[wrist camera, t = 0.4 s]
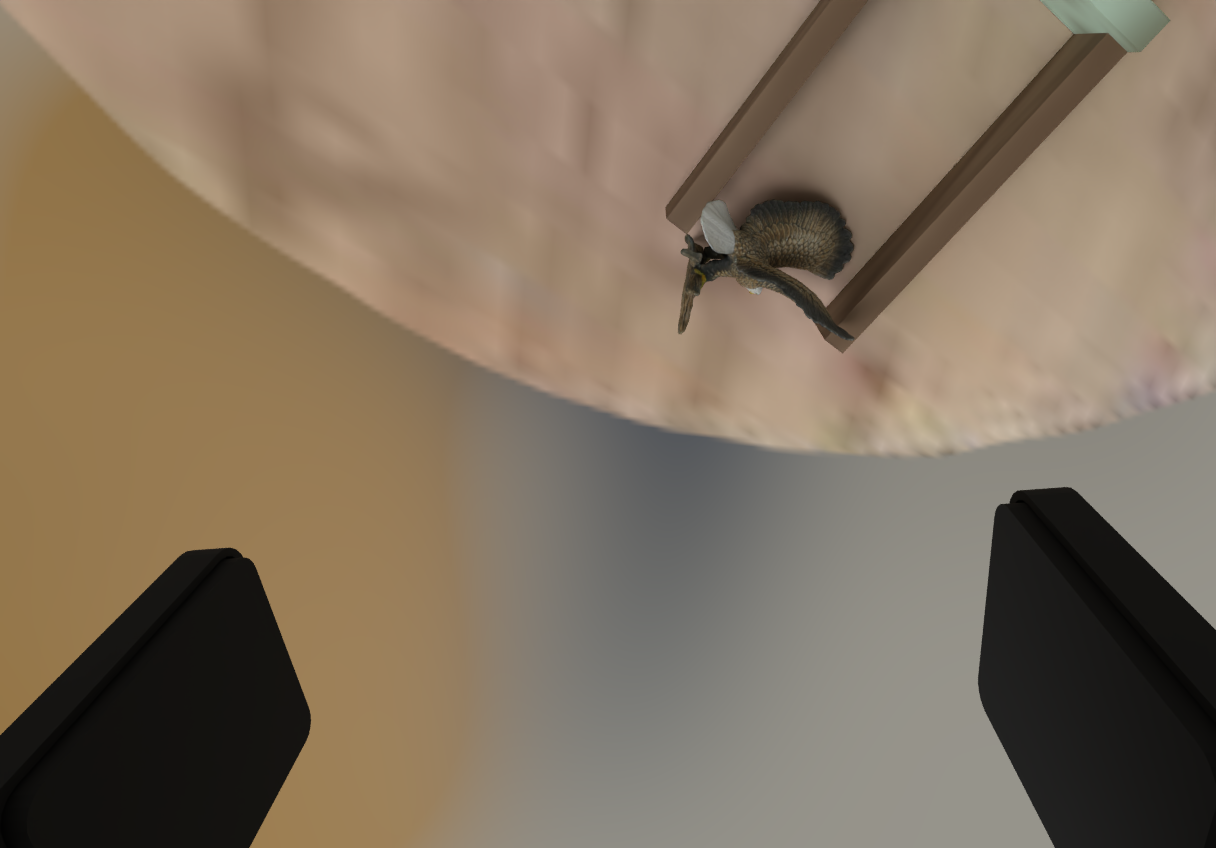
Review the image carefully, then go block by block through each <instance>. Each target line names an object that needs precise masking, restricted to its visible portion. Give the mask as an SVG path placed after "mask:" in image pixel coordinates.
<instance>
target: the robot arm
mask: <svg viewBox="0 0 1216 848" xmlns="http://www.w3.org/2000/svg"><path fill="white" fill-rule="evenodd" d="M978 686H979V693H980V698H981V701H982V704H983V707H984V709H985V712H986V714H987V716H988V718H989V720H990V722H991V724H992V726H993V728H994V730H995V732H996V734H997V736H998V737H999V739H1000V741H1001V743H1002V745H1003V747H1004V749H1005V751H1006V753H1007V755H1008V757H1009V759H1010V760H1011V763H1012V765H1013V767H1014V769H1015V771H1016V772H1017V775H1018V777H1019V778H1020V780H1021V782H1022V784H1023V786H1024V788H1025V790H1026V792H1027V794H1028V796H1029V798H1030V800H1031V802H1032V804H1033V806H1034V808H1035V810H1036V812H1037V814H1038V816H1039V817H1040V819H1041V821H1042V823H1043V825H1044V827H1045V829H1046V831H1047V833H1048V835H1049V837H1050V839H1051V841H1052V843H1053V845H1054V847H1055V848H1216V630H1215V629H1214V628H1213V627H1212V626H1211V625H1210V624H1209V623H1208V622H1207V621H1206V620H1205V619H1204V618H1203V617H1202V616H1201V615H1200V614H1199V613H1198V612H1197V611H1196V610H1195V609H1194V608H1193V607H1192V606H1191V605H1190V604H1189V603H1188V602H1187V601H1186V600H1185V599H1184V598H1183V597H1182V596H1181V595H1180V594H1179V593H1178V592H1177V591H1176V590H1175V589H1174V588H1173V587H1172V586H1171V585H1170V584H1169V583H1168V582H1167V581H1166V580H1165V579H1164V578H1163V577H1162V576H1161V575H1160V574H1159V573H1158V572H1157V571H1156V570H1155V569H1154V568H1153V567H1152V566H1151V565H1150V564H1149V563H1148V562H1147V561H1146V560H1145V559H1144V558H1143V557H1142V556H1141V555H1140V554H1139V553H1138V552H1137V551H1136V550H1135V549H1134V548H1133V547H1132V546H1131V545H1130V544H1129V543H1128V542H1127V541H1126V540H1125V539H1124V538H1123V537H1122V536H1121V535H1120V534H1119V533H1118V532H1117V531H1116V530H1115V529H1114V528H1113V527H1112V526H1111V525H1110V524H1109V523H1108V522H1107V521H1106V520H1105V519H1104V518H1103V517H1101V516H1100V514H1099V513H1098V512H1097V511H1095V509H1093V507H1092V506H1091V505H1090V504H1089V503H1088V502H1086V501H1085V499H1084V498H1083V497H1082V496H1081V495H1080V494H1078V492H1076V491H1075V490H1073V489H1072V488H1068V487H1062V488H1048V489H1035V490H1020V491H1016V492H1015V493H1014V494H1013V495H1012V497H1011V499H1010V504H1000V505H999V506H998V507H997V509H996V512H995V517H994V527H993V537H992V547H991V557H990V566H989V577H988V586H987V597H986V606H985V615H984V625H983V635H982V645H981V655H980V666H979V675H978ZM310 724H311V715H310V710H309V707H308V704H307V702H306V699H305V696H304V694H303V691H302V689H301V686H300V683H299V680H298V678H297V675H296V673H295V670H294V667H293V665H292V662H291V659H290V657H289V654H288V651H287V649H286V646H285V644H284V641H283V638H282V636H281V633H280V630H279V628H278V625H277V622H276V620H275V617H274V614H273V612H272V609H271V607H270V604H269V601H268V599H267V596H266V594H265V591H264V588H263V585H262V583H261V580H260V577H259V575H258V572H257V570H256V567H255V565H254V563H253V562H252V561H251V560H250V559H248V558H243V556H242V555H241V553H239V552H238V551H237V550H236V549H233V548H219V549H205V550H193V551H187V552H185V553H183V554H182V555H181V556H179V557H178V558H177V559H176V560H175V561H174V562H173V564H171V565H170V566H169V567H168V568H167V569H166V570H165V571H164V572H163V573H162V575H160V576H159V577H158V578H157V579H156V580H155V581H154V582H153V583H152V584H151V585H150V586H149V587H148V588H147V589H146V590H145V591H144V592H143V593H142V594H141V595H140V596H139V598H137V599H136V600H135V601H134V602H133V603H132V604H131V605H130V606H129V607H128V608H127V609H126V610H125V611H124V612H123V613H122V614H121V615H120V616H119V617H118V618H117V619H116V620H115V621H114V622H113V623H112V624H111V625H110V626H109V627H108V628H107V629H106V630H105V631H104V632H103V633H102V634H101V635H100V636H99V637H98V638H97V639H96V640H95V641H94V642H93V643H92V644H91V645H90V646H89V647H88V648H87V649H86V650H85V651H84V652H83V653H82V654H81V655H80V656H79V657H78V658H77V659H76V660H75V661H74V663H72V664H71V665H70V666H69V667H68V668H67V669H66V670H65V671H64V672H63V673H62V674H61V675H60V677H58V678H57V679H56V680H55V681H54V682H53V683H52V684H51V685H50V686H49V687H48V688H47V689H46V690H45V691H44V692H43V693H42V694H41V695H40V696H39V697H38V698H37V699H36V700H35V701H34V702H33V703H32V704H31V705H30V706H29V707H28V708H27V709H26V710H25V711H24V712H23V713H22V714H21V715H20V716H19V717H18V718H17V719H16V720H15V721H14V722H13V723H12V724H11V725H10V726H9V727H8V728H7V729H6V730H5V731H4V732H3V733H2V734H1V735H0V848H249V847H250V845H251V844H252V842H253V840H254V838H255V836H256V834H257V832H258V830H259V829H260V826H261V825H262V823H263V821H264V819H265V817H266V815H267V813H268V811H269V809H270V808H271V806H272V804H273V802H274V800H275V798H276V796H277V795H278V792H279V791H280V789H281V787H282V785H283V783H284V782H285V780H286V778H287V776H288V774H289V772H290V770H291V768H292V766H293V765H294V763H295V761H296V759H297V757H298V755H299V753H300V752H301V750H302V748H303V746H304V744H305V742H306V740H307V738H308V735H309V731H310Z"/></svg>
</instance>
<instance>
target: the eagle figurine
mask: <svg viewBox="0 0 1216 848" xmlns="http://www.w3.org/2000/svg"><path fill="white" fill-rule="evenodd" d="M845 224H846V223H845V220H843V219H841V218H840V213H839V211H837V210H836V209H835V208H833V207H829V205H828V204H827V203H821V202H820V201H815V202H814V203H813V202H810V201H803V202H801V203H799V202H797V201H796V202H791V201H787V202H785V203H784V202H783V201H781V200H778V201H777V200H771V201H766V202H764V203H763V204H757V205H755V208H753V209H751V215H750V216H748V217H747V218H746V223H744V224H742V225H741V227H740V229H739V230H738V229H737V228H736V226H735V225H734V223H733V220H732V218H731V217H730V214H729V211H728V208H727V206H726V204H725V202H723V201H721V200H716V201H712V202H707V204H706V206H705V207H704V208H703V210H702V216H701V225H702V229H703V232H704V235H705V239H706V241H707V242H708V243H709V245H710V246H709V247H705V248H704V250H703V247H702V246H700V245H698V244H696V243H694V241H693V239H692V237H691V236H690V235H689V234H687V235H686V236H685V242H686V243H687V244H688V249H682V250H681V254H682V255H684V256H686V257H688V258H689V262H688V266H687V273H686V279H685V283H684V288H683V293H682V302H681V312H680V318H679V324H678V333H679V334H682V333H683V332H684V331H685V329H686V327H687V325H688V322H689V318H690V312H691V309H692V307H693V298H694V297H695V295H696V296H698V295H699V294H700V289H701V288H702V287H703V285H704V283H705V282H707V281H713V280H715V279H716V278H717V277H720V276H722V277H733V278H736V280H737V282H738V283H739V284H740V285H741V286H743V287H745V288H747V289H748V290H749V291H750V292H749V293H750V294H758V295H759V294H760V293H761V291H762V288H763V287H764V288H767V289H770V290H773V291H776V292H778V293H780V294H782V295H784V296H786V297H788V298H789V299H791V300H792V301H794V302H795V303H796V305H797V306H798V307H800V308H802V309H803V311H804V313H805V315H806V316H807V317H808V318H809V319H812V320H813V322H814V323H817V324H818V323H819V324H820V325H821V326H822V327H825V328H826V329H827V330H829V331H830V332H832V333H834V334H835V335H837V336H839V337H840V338H842V339H845V340H850V341H853V340H854V339H855V338H854V337H853V336H851V335H850V334H848V332H847V331H845V330H844V329H842V328H841V327H839V326H837V325H836V324H835V322H834V321H833V320H832V318H831V315H830V314H829V312H828V310H827V309H826V308H825V306H824V305H823V303H822V302H821V300H820V299H819V298H818V297H817V295H816V294H815V293H814V292H812V291H811V290H810V289H809V288H808V287H806V286H805V285H804V284H803V283H801V282H799V281H798V280H797V279H795V278H793V277H792V276H789V275H787V274H786V273H784V272H782V271H781V270H779V269H776V268H779V267H791V268H797V269H803V270H808V271H810V272H812V273H814V274H815V275H818V276H820V277H822V278H825V279H829V280H830V279H833V278H834V276H835V273H837V272H840V271H842V269H843V263H847V262H849V261H850V260H851V255H850V253H851V252H852V251H853V250H854V246H853V244H852V243H851V242H850V239H851V238H852V234H851V232H850V231H848V230H847V229H844V228H843V227H844V226H845ZM710 259H715V260H712V261H709V260H710ZM716 259H721V260H716ZM708 261H709V262H708ZM706 262H708V263H706ZM705 263H706V264H705Z"/></svg>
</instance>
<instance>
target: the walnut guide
mask: <svg viewBox="0 0 1216 848" xmlns="http://www.w3.org/2000/svg"><path fill="white" fill-rule="evenodd" d="M867 1H868V0H820V2H819V3H818V4H817V6H816V7H815V8H814V10H813V11H812V12H811V14H810V15H809V16H808V18H807V19H806V21H805V22H804V23H803V25H802V26H801V27H800V29H799V30H798V31H797V33H796V34H795V35H794V37H793V38H792V39H791V41H790V42H789V43H788V45H787V46H786V47H785V49H784V50H783V51H782V53H781V54H780V55H779V57H778V58H777V59H776V61H775V62H774V63H773V65H772V66H771V67H770V69H769V70H768V71H767V73H766V74H765V75H764V77H763V78H762V79H761V81H760V82H759V83H758V85H757V86H756V87H755V89H754V90H753V91H752V93H751V94H750V95H749V97H748V98H747V99H746V101H745V102H744V103H743V105H742V106H741V107H740V109H739V110H738V111H737V113H736V114H735V115H734V117H733V118H732V119H731V121H730V122H729V123H728V125H727V126H726V127H725V129H724V130H723V131H722V133H721V134H720V135H719V137H718V138H717V140H716V141H715V142H714V144H713V145H712V146H711V148H710V149H709V150H708V152H707V153H706V154H705V156H704V157H703V158H702V160H701V161H700V162H699V164H698V165H697V166H696V168H695V169H694V170H693V172H692V173H691V174H690V176H689V177H688V178H687V180H686V181H685V182H684V184H683V185H682V186H681V188H680V189H679V190H678V192H677V193H676V194H675V196H674V197H673V198H672V200H671V201H670V202H669V204H668V205H667V206H666V218H667V220H669V221H670V222H671V223H673V224H674V225H675V226H677V227H678V228H679V229H681V230H682V231H683V232H684V233H686V234H687V233H688V232H689V231H690V230H691V228H692V227H693V226H694V224H695V223H696V222H697V220H698V219H699V218H700V217H701V215H702V210H703V208H704V207H705V206H706V204H707V202H712V201H713V200H714V199H715V197H716V196H717V195H718V193H719V192H720V191H721V189H722V188H723V187H724V186H725V184H726V183H727V182H728V180H729V179H730V178H731V177H732V175H733V174H734V173H735V171H736V170H737V169H738V167H739V166H740V165H741V164H742V162H743V161H744V160H745V158H746V157H747V156H748V155H749V153H750V152H751V151H752V149H753V148H754V147H755V146H756V144H757V143H758V142H759V140H760V139H761V138H762V136H763V135H764V134H765V133H766V131H767V130H768V129H769V127H770V126H771V125H772V124H773V122H774V121H775V120H776V118H777V117H778V116H779V115H780V113H781V112H782V111H783V109H784V108H785V107H786V105H787V104H788V103H789V102H790V100H791V99H792V98H793V96H794V95H795V94H796V93H797V91H798V90H799V89H800V87H801V86H802V85H803V84H804V82H805V81H806V80H807V78H808V77H809V76H810V74H811V73H812V72H813V71H814V69H815V68H816V67H817V65H818V64H819V63H820V62H821V60H822V59H823V58H824V56H825V55H826V54H827V53H828V51H829V50H830V49H831V47H832V46H833V45H834V43H835V42H836V41H837V40H838V38H839V37H840V36H841V34H842V33H843V32H844V31H845V29H846V28H847V27H848V25H849V24H850V23H851V22H852V20H853V19H854V18H855V16H856V15H857V14H858V12H859V11H860V10H861V9H862V7H863V6H864V5H865V3H866V2H867ZM1040 1H1041V2H1042V3H1043V4H1044V5H1045V6H1046V7H1047V8H1048V9H1049V10H1050V11H1051V12H1052V13H1053V14H1054V15H1055V16H1056V17H1057V18H1058V19H1060V20H1061V21H1062V22H1063V23H1064V24H1065V25H1066V26H1067V27H1068V28H1069V29H1070V30H1071V31H1072V32H1073V33H1074V35H1073V36H1072V37H1071V38H1070V39H1069V40H1068V41H1067V43H1066V44H1065V45H1064V46H1063V47H1062V48H1061V49H1060V50H1059V51H1058V52H1057V54H1056V55H1055V56H1054V57H1053V58H1052V59H1051V60H1050V61H1049V62H1048V64H1047V65H1046V66H1045V67H1044V68H1043V69H1042V70H1041V71H1040V72H1039V73H1038V75H1037V76H1036V77H1035V78H1034V79H1033V80H1032V81H1031V82H1030V83H1029V85H1028V86H1027V87H1026V88H1025V89H1024V90H1023V91H1022V92H1021V93H1020V94H1019V96H1018V97H1017V98H1016V99H1015V100H1014V101H1013V102H1012V103H1011V104H1010V106H1009V107H1008V108H1007V109H1006V110H1005V111H1004V112H1003V113H1002V114H1001V115H1000V117H999V118H998V119H997V120H996V121H995V122H994V123H993V124H992V125H991V127H990V128H989V129H988V130H987V131H986V132H985V133H984V134H983V135H982V136H981V138H980V139H979V140H978V141H977V142H976V143H975V144H974V145H973V146H972V148H971V149H970V150H969V151H968V152H967V153H966V154H965V155H964V156H963V157H962V159H961V160H960V161H959V162H958V163H957V164H956V165H955V166H954V167H953V169H952V170H951V171H950V172H949V173H948V174H947V175H946V176H945V177H944V178H943V180H942V181H941V182H940V183H939V184H938V185H937V186H936V187H935V188H934V190H933V191H932V192H931V193H930V194H929V195H928V196H927V197H926V198H925V199H924V201H923V202H922V203H921V204H920V205H919V206H918V207H917V208H916V209H915V211H914V212H913V213H912V214H911V215H910V216H909V217H908V218H907V219H906V220H905V222H904V223H903V224H902V225H901V226H900V227H899V228H898V229H897V230H896V231H895V233H894V234H893V235H892V236H891V237H890V238H889V239H888V240H887V241H886V243H885V244H884V245H883V246H882V247H881V248H880V249H879V250H878V251H877V252H876V254H875V255H874V256H873V257H872V258H871V259H870V260H869V261H868V262H867V264H866V265H865V266H864V267H863V268H862V269H861V270H860V271H859V272H858V273H857V275H856V276H855V277H854V278H853V279H852V280H851V281H850V282H849V283H848V285H847V286H846V287H845V288H844V289H843V290H842V291H841V292H840V293H839V294H838V296H837V297H836V298H835V299H834V300H833V301H832V302H831V303H830V304H829V306H828V307H827V308H826V309H827V310H828V312H829V314H830V315H831V318H832V320H833V321H834V322H835V324H836V325H837V326H839V327H841V328H842V329H844V330H845V331H847V332H848V334H850V335H851V336H853V337H854V338H855V339H854V340H853V341H850V340H845V339H842V338H840V337H839V336H837V335H835V334H834V333H832V332H830V331H829V330H827V329H826V328H825V327H822V326H821V325H820V324H819V323H818V324H817V323H815V324H816V326H817V328H818V329H819V331H820V333H821V334H822V336H823V338H824V339H825V340H826V341H827V342H828V343H830V344H831V345H832V346H834V347H835V348H836V349H838V350H839V351H840V352H842V353H844V351H845V350H846V349H847V348H848V347H849V346H850V345H851V344H852V343H853V342H854V341H855V340H856V339H857V338H858V337H859V336H860V335H861V333H862V332H863V331H864V330H865V329H866V328H867V327H868V326H869V325H870V324H871V323H872V322H873V321H874V320H875V319H876V318H877V317H878V315H879V314H880V313H881V312H882V311H883V310H884V309H885V308H886V307H887V306H888V305H889V304H890V303H891V302H892V301H893V300H894V299H895V297H896V296H897V295H898V294H899V293H900V292H901V291H902V290H903V289H904V288H905V287H906V286H907V285H908V284H909V283H910V282H911V281H912V279H913V278H914V277H915V276H916V275H917V274H918V273H919V272H920V271H921V270H922V269H923V268H924V267H925V266H926V265H927V264H928V263H929V261H930V260H931V259H932V258H933V257H934V256H935V255H936V254H937V253H938V252H939V251H940V250H941V249H942V248H943V247H944V246H945V245H946V243H947V242H948V241H949V240H950V239H951V238H952V237H953V236H954V235H955V234H956V233H957V232H958V231H959V230H960V229H961V228H962V227H963V225H964V224H965V223H966V222H967V221H968V220H969V219H970V218H971V217H972V216H973V215H974V214H975V213H976V212H977V211H978V210H979V209H980V207H981V206H982V205H983V204H984V203H985V202H986V201H987V200H988V199H989V198H990V197H991V196H992V195H993V194H994V193H995V192H996V191H997V189H998V188H999V187H1000V186H1001V185H1002V184H1003V183H1004V182H1005V181H1006V180H1007V179H1008V178H1009V177H1010V176H1011V175H1012V174H1013V173H1014V171H1015V170H1016V169H1017V168H1018V167H1019V166H1020V165H1021V164H1022V163H1023V162H1024V161H1025V160H1026V159H1027V158H1028V157H1029V156H1030V155H1031V154H1032V152H1033V151H1034V150H1035V149H1036V148H1037V147H1038V146H1039V145H1040V144H1041V143H1042V142H1043V141H1044V140H1045V139H1046V138H1047V137H1048V136H1049V134H1050V133H1051V132H1052V131H1053V130H1054V129H1055V128H1056V127H1057V126H1058V125H1059V124H1060V123H1061V122H1062V121H1063V120H1064V119H1065V118H1066V116H1067V115H1068V114H1069V113H1070V112H1071V111H1072V110H1073V109H1074V108H1075V107H1076V106H1077V105H1078V104H1079V103H1080V102H1081V101H1082V100H1083V98H1084V97H1085V96H1086V95H1087V94H1088V93H1089V92H1090V91H1091V90H1092V89H1093V88H1094V87H1095V86H1096V85H1097V84H1098V83H1099V82H1100V80H1101V79H1102V78H1103V77H1104V76H1105V75H1106V74H1107V73H1108V72H1109V71H1110V70H1111V69H1112V68H1113V67H1114V66H1115V65H1116V64H1117V62H1118V61H1119V60H1120V59H1121V58H1122V57H1123V56H1124V55H1125V54H1126V53H1127V52H1141V51H1142V50H1143V49H1144V48H1145V47H1146V46H1147V45H1148V44H1149V42H1150V41H1151V40H1152V39H1153V38H1154V37H1155V36H1156V35H1157V34H1158V33H1159V32H1160V31H1161V30H1162V29H1163V28H1164V27H1165V26H1166V25H1167V24H1168V22H1169V21H1170V19H1169V18H1168V17H1167V16H1166V15H1165V14H1164V13H1163V12H1162V11H1161V10H1160V9H1159V8H1158V7H1157V6H1156V5H1155V4H1154V3H1153V2H1152V1H1151V0H1040Z"/></svg>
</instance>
